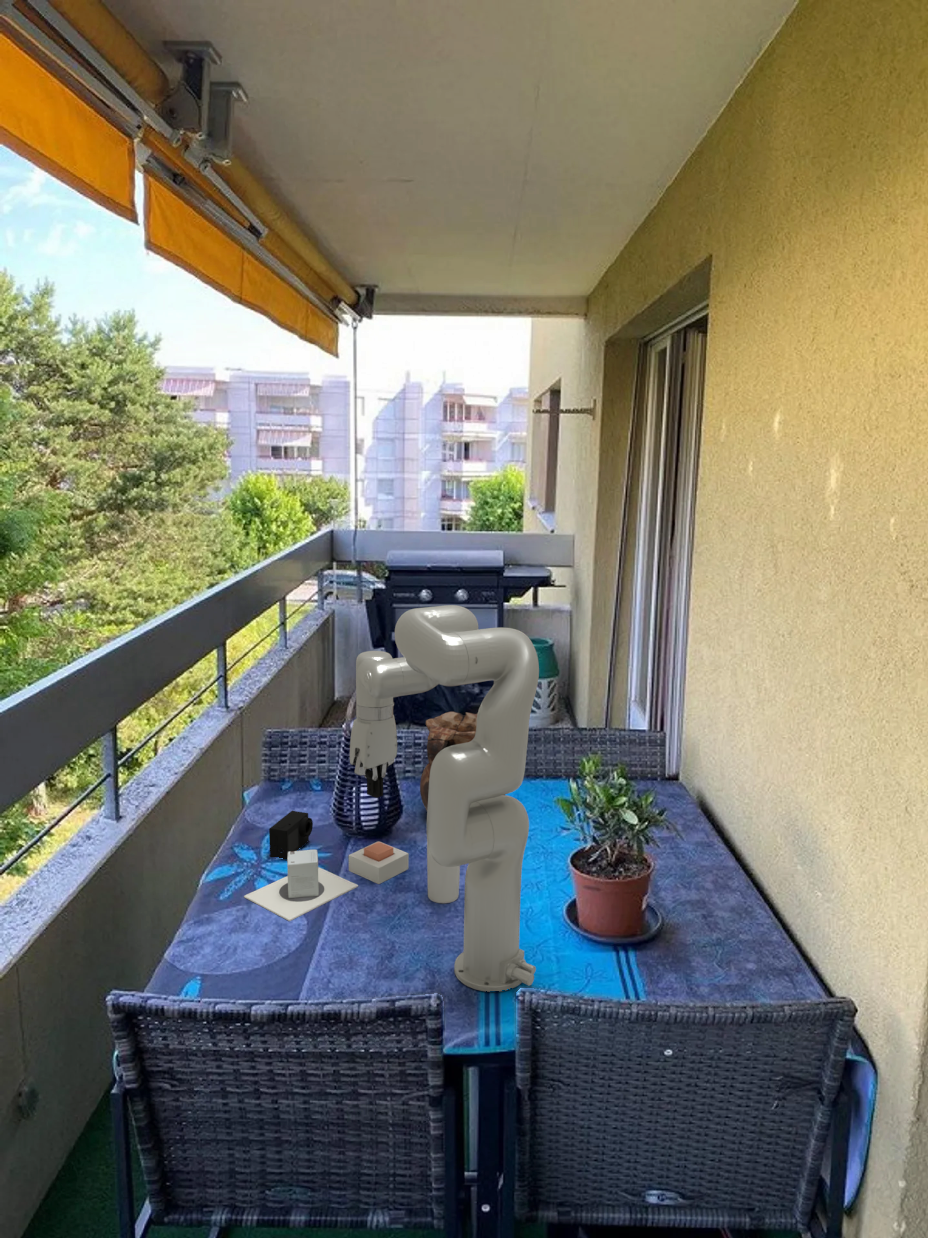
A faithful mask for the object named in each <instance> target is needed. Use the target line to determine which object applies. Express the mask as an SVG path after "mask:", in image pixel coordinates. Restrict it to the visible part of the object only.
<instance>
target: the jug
mask: <svg viewBox="0 0 928 1238" xmlns="http://www.w3.org/2000/svg"><path fill="white" fill-rule="evenodd" d="M477 714H478V713H472V712H465V715H463V714H462V713H460V712H456V711H448V712H445V713H442V714H441V715H438V716H435V717H434V718H429V719H426V720H425V725H426V726H425V727H426V728H427V730H428V731H429V733H428V735H427V742H426V754H427V760H428V763H427V764H426V766H425V767H424V769H423V771H422V773H421V776H420V781H419V794H420V798H421V801H422V805H423V807H424V808H425V810H426V812H427V810H428V793H429V778H430V770H431V766H432V762H433V760H434V758H435V757H436V755H437V754H438V753H439V752H440V751H441V750H443V749H444V748H446V747H449V746H452V745H457V744H462V743H467V742H470V741H472V740H473V739H474V737H475V733H476V727H477Z"/></svg>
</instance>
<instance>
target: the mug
mask: <svg viewBox="0 0 928 1238" xmlns="http://www.w3.org/2000/svg"><path fill="white" fill-rule="evenodd" d="M426 864H427V865H426V867H427V868H426V869H427V871H426V872H427V897H428V899H429V900H430V901H432V902H433V903H437V904H449V903H453V902H455V901H457V899H459V891H460V878H461V877H460V874H461V865H460V866H456V867H444V866H442V865H440V864H438V863H437V862H436V861H435V860H434V859H433V857H432V855H431V853H430V851H429V848H428V843H427V842H426Z"/></svg>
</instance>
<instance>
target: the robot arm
mask: <svg viewBox="0 0 928 1238" xmlns="http://www.w3.org/2000/svg"><path fill="white" fill-rule="evenodd" d="M394 627H395V628H394V641H395V644H396V647H397V649H398V651H399V653H400V654H401V655H402V656H403V657H395V658H393V657H392V655H391V653H389V652H386V651H383V650H367V651H363V652H361V653H359V654H358V655H357V657H356V660H355V682H356V683H355V684H356V686H355V695H356V698H355V699H356V700H355V701H356V705H355V706H356V708H355V709H356V710H355V711H356V714H355V715H356V718H355V719H353V723H352V727H351V732H350V741H349V763H350V765H352V766H355V768H354V774H355V775H358V776H364V778H365V779H366V795H368V796H370V797H373V798H375V799H379V798H380V797H382V796H384V778H385V777H386V773H387V769H388V768H389V766H391V765H392V764H394V762H395V758H396V757H397V754H398V734H397V724H396V720H395V715H394V706H395V702H394V698H397V697H402V696H409V695H417V694H422V693H425V692H428V691H430V690H432V689H434V688H435V687H437V686H438V685H441V686H444V687H457V686H463V685H471V684H475V683H477V684H478V683H482V682H488V681H493V685H492V687H491V688H490V689H489V690H488V692H487V693H486V694H485V696H484V697H483V699H482V701H481V704H480V706H479V708H478V712H477V713H476V714H477V727H476V733H475V737H474V739H473V740H472V741H470V742H467V743H462V744H457V745H452V746H449V747H446V748H444V749H443V750H441V751H440V752H439V753H438V754H437V755H436V757H435V758H434V760H433V762H432V766H431V770H430V778H429V793H428V810H427V811H426V812H427V813H426V844H427V843H428V848H429V851H430V853H431V855H432V857H433V859H434V860H435V861H436V862H437V863H438V864H440V865H442V866H444V867H456V866H460V867H461V866H465V865H467V868H466V870H465V875H464V899H463V900H464V902H463V903H464V905H463V906H464V907H463V908H464V909H463V910H464V911H463V915H464V916H463V951H462V952H461V953H459V955H458V956H457V957H456V958H455V961H454V967H453V968H454V974H455V977H456V978H457V979H458V980H459V981H460V982H461V983H462V984H463V985H465V986H466V987H468V988H471V989H473V990H476V991H481V992H486V991H487V993H488V992H489V993H491V992H490V991H499V992H503V991H502V990H505V991H508V990H507V989H509V990H511V989H510V988H512V989H514V988H516V987H518V986H520V985H521V984H522V983H523V984H525V985H526V986H532V984H533V982H534V980H535V975H534V974H535V972H536V970H537V968H536V966H535V965H532V964H531V963H527V962H526V959H525V950H523V949H521V948H520V928H521V927H520V926H521V925H520V922H521V921H520V920H521V917H520V916H521V892H522V890H521V889H522V871H523V870H522V869H523V860H524V854H525V850H526V846H527V841H528V837H529V830H530V820H529V815H528V812H527V810H526V807H525V806H524V804H523V803H522V802H521V801H519V800H518V799H517V798H515V797H513V796H511V795H508V794H510V793H513V792H515V791H516V790H518V789H519V788H520V786H522V784H523V781H524V777H525V772H526V771H525V770H526V764H527V763H526V761H527V752H528V751H527V750H528V741H529V729H530V718H531V714H532V707H533V704H534V700H535V697H536V693H537V690H538V684H539V678H540V677H539V674H540V668H539V667H540V666H539V657H538V654H537V650H536V648H535V646H534V644H533V642H532V640H531V639H530V638H529V636H528V635H527V634H525V633H524V632H523V631H520V630H519V629H515V628H512V627H489V628H480V629H479V622H478V620H477V617H476V615H475V614H474V613H473V612H472V611H471V610H470V609H468V608H466V607H464V606H461V605H456V604H451V605H450V604H448V605H437V606H429V607H428V606H427V607H418V608H417V607H416V608H412V609H408V610H406V611H405V612H404V613H402V614H401V616H400V617H399V618H398V620H397V622H396V624H395V626H394Z"/></svg>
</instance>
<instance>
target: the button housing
mask: <svg viewBox="0 0 928 1238" xmlns="http://www.w3.org/2000/svg"><path fill="white" fill-rule="evenodd" d="M377 842H381V843H383V844H386V843H384V842H382V841H379V840H378V841H376V842H374V843H372V844H369V845H367V846H365V847H363V848H361V849H359V850H357V851H355V852H352V853H350V854H348V871H349V872H351V873H353V874H355V875H358V876H360V877H362V878H364V879H366V880H369V881H371V882H373V883H375V884H378V885H380V884H382V883H385V882H386V881H388V880H390V879H392V878H393V877H395V876H398V875H399V874H401V873H404V872H406V871H407V870H409V860H410V859H409V853H408V852H406V851H404V850H401V849H399V848H396V847H394V846H391V845H389V844H386V845H388V846H390V847H393V855H392V856H390V857H388V858H386V859H384V860H381V861H379V862H378V861H376V860H373V859H371V858H369V857H366V856H364V848H366V847H368V846H370V845H373V844H375V843H377Z"/></svg>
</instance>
